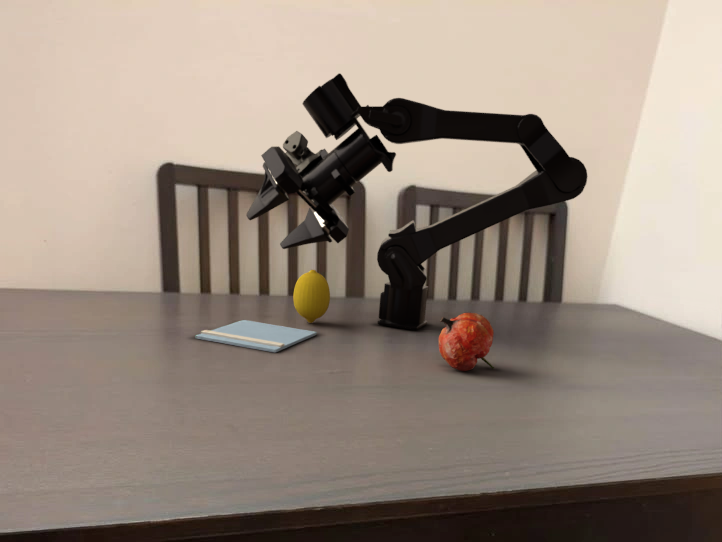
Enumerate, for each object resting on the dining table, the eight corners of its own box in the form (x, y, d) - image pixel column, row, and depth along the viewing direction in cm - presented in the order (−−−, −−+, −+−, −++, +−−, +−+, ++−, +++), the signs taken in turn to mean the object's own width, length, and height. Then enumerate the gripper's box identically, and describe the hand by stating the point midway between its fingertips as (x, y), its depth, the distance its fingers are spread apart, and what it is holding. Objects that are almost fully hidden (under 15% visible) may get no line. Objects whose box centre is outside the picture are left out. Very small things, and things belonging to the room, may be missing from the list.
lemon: (288, 318, 113) (290, 266, 110) (323, 319, 115) (326, 267, 112) (296, 326, 108) (299, 271, 105) (332, 327, 110) (336, 273, 107)
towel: (316, 334, 105) (317, 329, 105) (275, 352, 94) (275, 347, 93) (243, 322, 108) (243, 317, 108) (195, 338, 97) (194, 333, 97)
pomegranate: (471, 376, 99) (419, 328, 96) (511, 338, 96) (459, 287, 93) (477, 398, 93) (421, 347, 89) (520, 358, 90) (464, 304, 87)
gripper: (352, 165, 118) (278, 226, 123) (291, 90, 102) (209, 163, 107) (380, 212, 114) (304, 273, 119) (322, 142, 98) (236, 216, 102)
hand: (265, 232), depth 112 cm, fingers open, 9 cm apart
